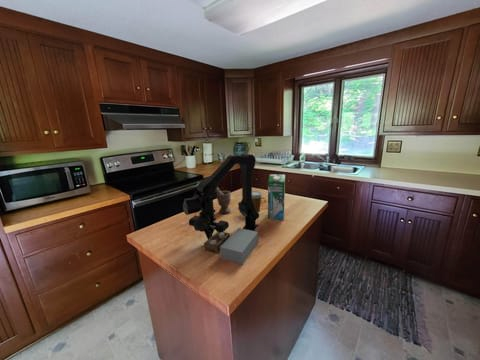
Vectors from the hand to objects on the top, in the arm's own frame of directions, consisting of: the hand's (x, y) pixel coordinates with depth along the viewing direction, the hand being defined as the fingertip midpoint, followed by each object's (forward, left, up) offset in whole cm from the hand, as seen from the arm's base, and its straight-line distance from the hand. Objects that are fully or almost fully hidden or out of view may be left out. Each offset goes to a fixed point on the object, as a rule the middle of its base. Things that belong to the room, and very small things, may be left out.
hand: (209, 239), depth 97 cm
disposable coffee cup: (-43, +6, -2) cm, 44 cm away
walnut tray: (0, +5, -2) cm, 5 cm away
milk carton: (-40, +21, -2) cm, 46 cm away
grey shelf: (0, +16, -2) cm, 16 cm away
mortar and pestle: (-33, -12, -2) cm, 35 cm away
